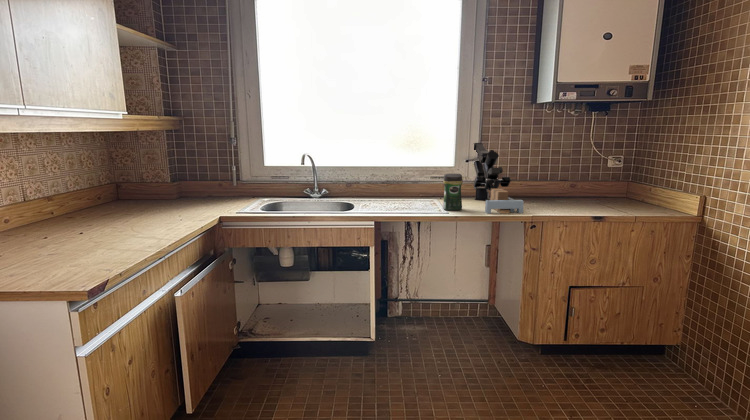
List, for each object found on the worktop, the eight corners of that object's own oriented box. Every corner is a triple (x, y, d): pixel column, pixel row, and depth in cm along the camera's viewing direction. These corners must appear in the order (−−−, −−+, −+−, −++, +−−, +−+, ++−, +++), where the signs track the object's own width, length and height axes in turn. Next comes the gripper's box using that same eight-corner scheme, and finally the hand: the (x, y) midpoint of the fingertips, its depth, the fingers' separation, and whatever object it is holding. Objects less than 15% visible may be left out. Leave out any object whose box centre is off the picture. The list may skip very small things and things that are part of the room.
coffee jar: (459, 208, 229) (461, 172, 226) (463, 211, 222) (464, 174, 218) (441, 208, 229) (442, 172, 226) (444, 211, 221) (445, 174, 218)
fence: (479, 208, 227) (480, 197, 226) (514, 208, 228) (514, 196, 227) (486, 213, 215) (487, 201, 214) (522, 212, 216) (523, 200, 215)
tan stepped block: (489, 207, 231) (490, 188, 229) (499, 207, 231) (500, 188, 230) (500, 213, 215) (501, 193, 214) (510, 213, 216) (511, 192, 214)
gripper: (475, 161, 232) (481, 185, 223) (510, 161, 233) (517, 185, 224) (471, 175, 241) (476, 198, 232) (504, 174, 242) (510, 197, 233)
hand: (495, 194), depth 230 cm, fingers closed, pressing on tan stepped block
